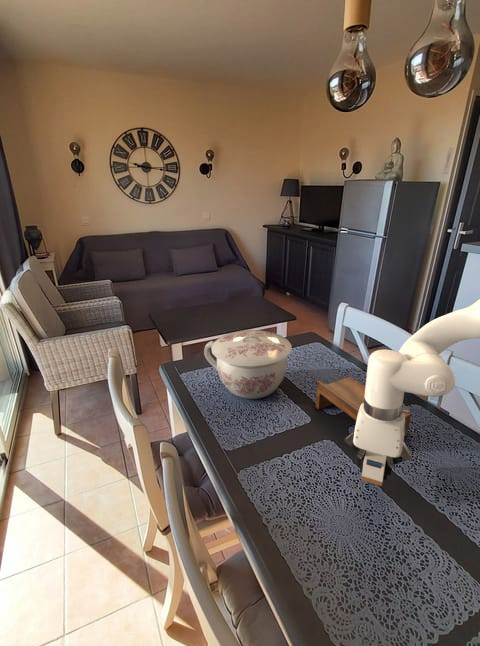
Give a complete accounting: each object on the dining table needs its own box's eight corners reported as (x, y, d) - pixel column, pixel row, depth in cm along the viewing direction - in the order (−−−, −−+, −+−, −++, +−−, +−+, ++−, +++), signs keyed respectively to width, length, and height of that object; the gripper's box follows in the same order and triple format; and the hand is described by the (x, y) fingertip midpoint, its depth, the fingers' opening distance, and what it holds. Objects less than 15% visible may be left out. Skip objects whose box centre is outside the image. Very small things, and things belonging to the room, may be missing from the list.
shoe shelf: (347, 395, 124) (350, 370, 120) (407, 435, 104) (412, 407, 100) (315, 407, 118) (317, 381, 114) (371, 452, 98) (376, 423, 94)
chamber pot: (306, 393, 125) (309, 339, 117) (239, 420, 112) (237, 362, 104) (260, 361, 147) (260, 314, 139) (200, 381, 134) (196, 330, 126)
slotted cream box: (368, 451, 90) (370, 433, 88) (387, 456, 89) (390, 438, 86) (361, 480, 82) (363, 460, 80) (381, 486, 80) (384, 466, 78)
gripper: (427, 406, 76) (414, 472, 83) (345, 389, 83) (340, 451, 90) (425, 427, 70) (412, 496, 77) (338, 406, 77) (333, 471, 84)
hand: (373, 471), depth 84 cm, fingers closed on slotted cream box, 4 cm apart
